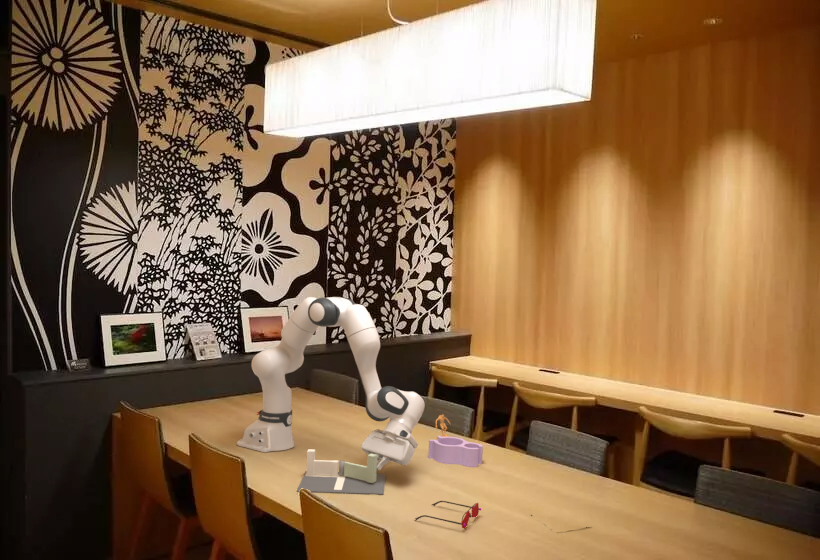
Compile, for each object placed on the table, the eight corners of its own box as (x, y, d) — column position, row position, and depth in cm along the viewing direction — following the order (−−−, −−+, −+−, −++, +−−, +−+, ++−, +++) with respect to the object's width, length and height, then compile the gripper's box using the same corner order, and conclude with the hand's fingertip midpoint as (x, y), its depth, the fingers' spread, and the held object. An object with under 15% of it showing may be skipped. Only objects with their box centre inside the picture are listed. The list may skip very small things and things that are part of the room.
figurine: (441, 447, 270) (442, 417, 270) (430, 443, 275) (431, 414, 274) (455, 443, 276) (456, 415, 275) (445, 440, 280) (446, 412, 280)
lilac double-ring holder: (486, 461, 255) (487, 443, 255) (472, 470, 244) (473, 451, 244) (440, 451, 265) (441, 434, 265) (424, 459, 255) (425, 441, 254)
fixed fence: (338, 475, 233) (338, 450, 232) (337, 478, 230) (338, 452, 230) (307, 474, 233) (308, 449, 232) (306, 477, 230) (307, 451, 230)
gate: (337, 474, 231) (338, 449, 231) (341, 472, 233) (342, 447, 233) (372, 483, 224) (373, 456, 224) (376, 481, 226) (377, 454, 226)
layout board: (296, 491, 217) (296, 490, 217) (305, 471, 236) (305, 470, 236) (383, 495, 217) (383, 493, 217) (385, 474, 236) (385, 473, 236)
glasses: (464, 534, 190) (465, 517, 190) (412, 521, 198) (412, 505, 197) (481, 517, 203) (482, 501, 203) (431, 506, 210) (432, 490, 210)
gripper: (370, 423, 239) (349, 456, 232) (413, 435, 226) (393, 470, 219) (378, 433, 243) (358, 466, 236) (422, 445, 229) (402, 481, 222)
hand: (375, 468), depth 227 cm, fingers closed
